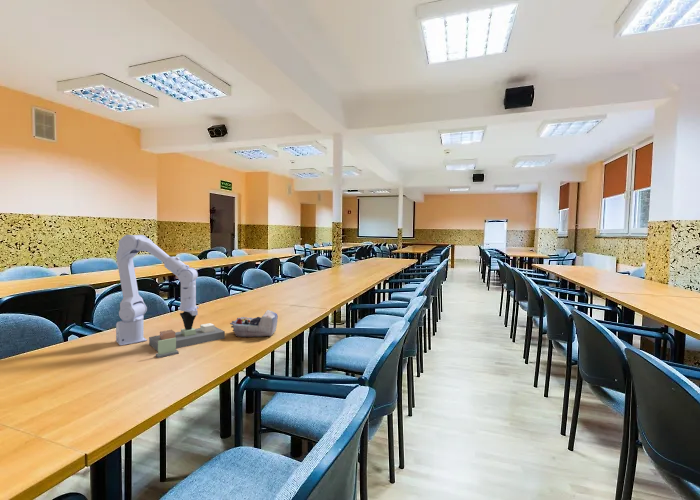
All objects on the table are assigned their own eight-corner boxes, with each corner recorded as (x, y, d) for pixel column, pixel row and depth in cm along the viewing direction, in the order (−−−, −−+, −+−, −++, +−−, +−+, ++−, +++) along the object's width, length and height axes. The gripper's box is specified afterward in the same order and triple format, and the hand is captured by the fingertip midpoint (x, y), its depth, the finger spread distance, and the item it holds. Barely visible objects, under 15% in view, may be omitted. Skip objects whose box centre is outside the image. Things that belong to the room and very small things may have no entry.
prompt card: (158, 358, 123) (157, 342, 122) (155, 355, 125) (155, 340, 125) (178, 353, 128) (178, 338, 127) (175, 351, 130) (175, 336, 130)
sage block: (184, 341, 139) (184, 331, 139) (180, 338, 142) (180, 329, 142) (195, 339, 142) (195, 329, 142) (191, 336, 145) (191, 327, 145)
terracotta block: (163, 344, 133) (163, 334, 133) (159, 341, 136) (159, 331, 136) (175, 341, 136) (175, 332, 136) (171, 339, 140) (171, 329, 139)
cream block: (204, 336, 145) (204, 326, 144) (200, 333, 148) (200, 324, 148) (214, 334, 148) (214, 325, 148) (210, 331, 151) (210, 323, 151)
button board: (158, 352, 129) (158, 344, 129) (149, 344, 137) (149, 337, 137) (224, 338, 147) (224, 331, 147) (213, 332, 156) (213, 325, 155)
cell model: (274, 314, 148) (227, 315, 146) (274, 338, 148) (228, 339, 147) (279, 307, 160) (236, 308, 159) (279, 330, 161) (236, 330, 160)
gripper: (205, 298, 139) (205, 331, 140) (191, 293, 149) (191, 324, 150) (187, 300, 134) (187, 334, 135) (174, 295, 144) (174, 327, 145)
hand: (188, 329), depth 142 cm, fingers closed, pressing on sage block
